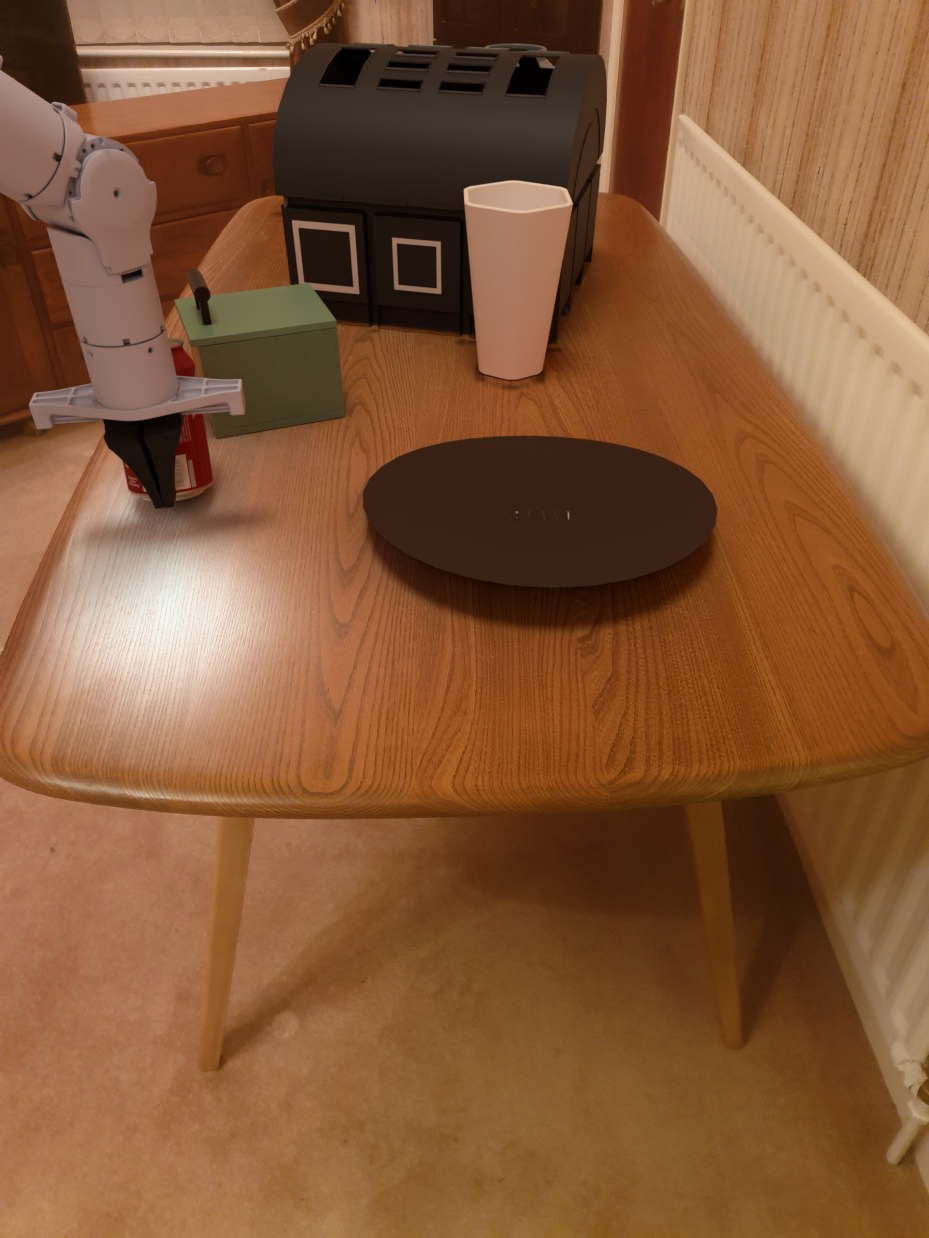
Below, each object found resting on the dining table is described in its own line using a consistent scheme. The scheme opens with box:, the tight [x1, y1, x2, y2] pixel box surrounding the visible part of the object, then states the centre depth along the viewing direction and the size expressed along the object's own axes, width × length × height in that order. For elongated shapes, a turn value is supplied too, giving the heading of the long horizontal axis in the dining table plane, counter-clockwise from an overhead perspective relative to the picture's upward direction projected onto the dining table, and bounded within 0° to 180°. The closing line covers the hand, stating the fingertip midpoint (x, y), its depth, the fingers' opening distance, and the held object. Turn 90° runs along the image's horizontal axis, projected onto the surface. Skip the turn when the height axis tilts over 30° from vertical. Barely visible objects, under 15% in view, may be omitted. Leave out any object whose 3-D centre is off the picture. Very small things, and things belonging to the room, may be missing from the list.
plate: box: [362, 435, 718, 589], centre depth 69 cm, size 28×28×4 cm
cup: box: [464, 181, 573, 381], centre depth 88 cm, size 11×10×17 cm
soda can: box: [122, 337, 214, 502], centre depth 69 cm, size 7×7×12 cm
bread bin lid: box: [174, 268, 338, 348], centre depth 79 cm, size 13×10×4 cm
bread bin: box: [189, 327, 346, 439], centre depth 83 cm, size 12×10×9 cm
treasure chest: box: [272, 41, 608, 345], centre depth 104 cm, size 32×32×26 cm
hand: (165, 501), depth 68 cm, fingers closed, pressing on soda can
